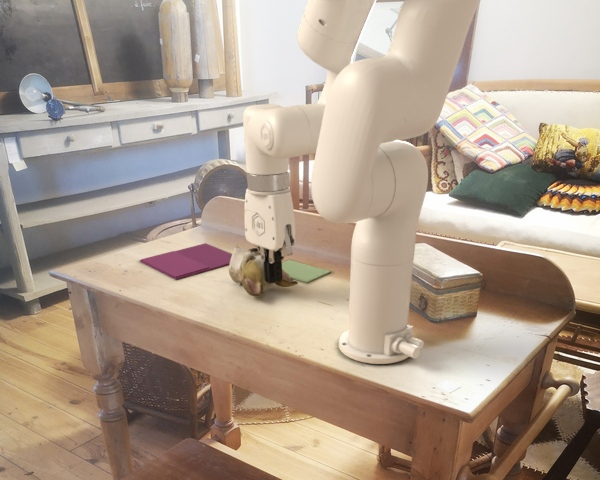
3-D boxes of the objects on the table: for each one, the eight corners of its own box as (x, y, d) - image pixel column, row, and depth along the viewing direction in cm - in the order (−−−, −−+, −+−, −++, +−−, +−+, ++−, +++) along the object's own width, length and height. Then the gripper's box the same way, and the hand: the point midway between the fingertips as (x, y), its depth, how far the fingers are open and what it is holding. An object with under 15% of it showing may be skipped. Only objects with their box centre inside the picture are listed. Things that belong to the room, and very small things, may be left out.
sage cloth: (330, 272, 129) (330, 271, 128) (306, 283, 123) (306, 281, 123) (289, 260, 135) (289, 259, 135) (265, 270, 130) (265, 269, 130)
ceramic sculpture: (256, 232, 124) (301, 254, 115) (257, 271, 129) (300, 295, 120) (212, 243, 119) (255, 267, 109) (215, 283, 124) (257, 310, 114)
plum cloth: (244, 260, 136) (244, 258, 136) (176, 279, 126) (176, 277, 126) (205, 244, 146) (205, 242, 146) (139, 261, 136) (139, 259, 136)
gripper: (226, 179, 109) (235, 276, 118) (278, 191, 99) (283, 295, 108) (259, 173, 113) (265, 267, 122) (312, 184, 103) (313, 285, 112)
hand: (273, 280), depth 115 cm, fingers closed
